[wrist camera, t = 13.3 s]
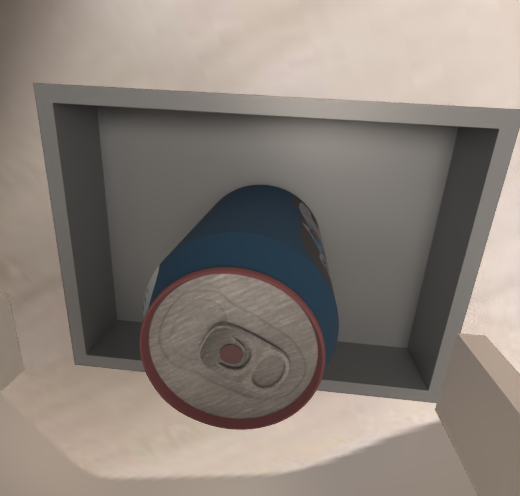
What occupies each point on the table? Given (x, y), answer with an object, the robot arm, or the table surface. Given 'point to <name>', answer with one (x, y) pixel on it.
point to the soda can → (242, 313)
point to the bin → (296, 182)
